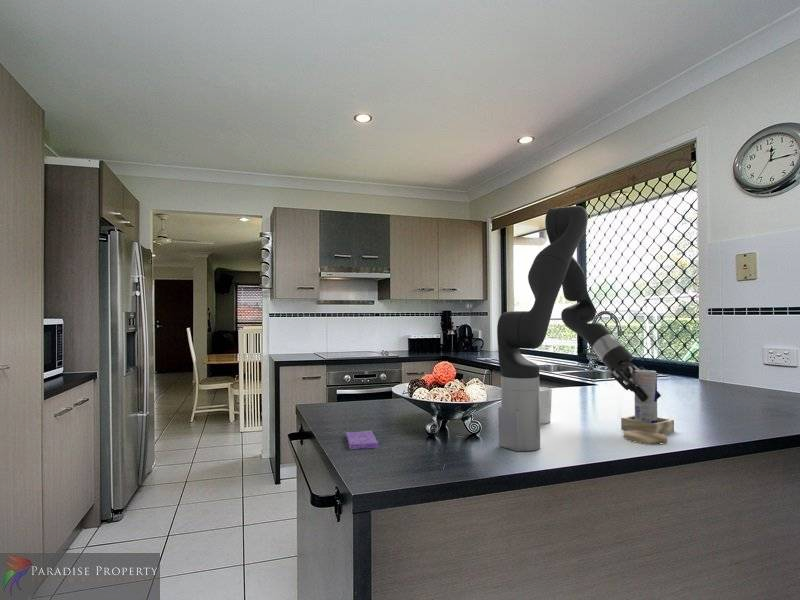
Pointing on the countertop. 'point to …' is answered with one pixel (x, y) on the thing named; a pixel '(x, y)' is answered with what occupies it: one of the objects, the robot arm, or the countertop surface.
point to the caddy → (648, 425)
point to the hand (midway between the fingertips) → (651, 398)
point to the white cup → (545, 404)
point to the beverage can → (649, 386)
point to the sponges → (361, 440)
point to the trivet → (645, 437)
